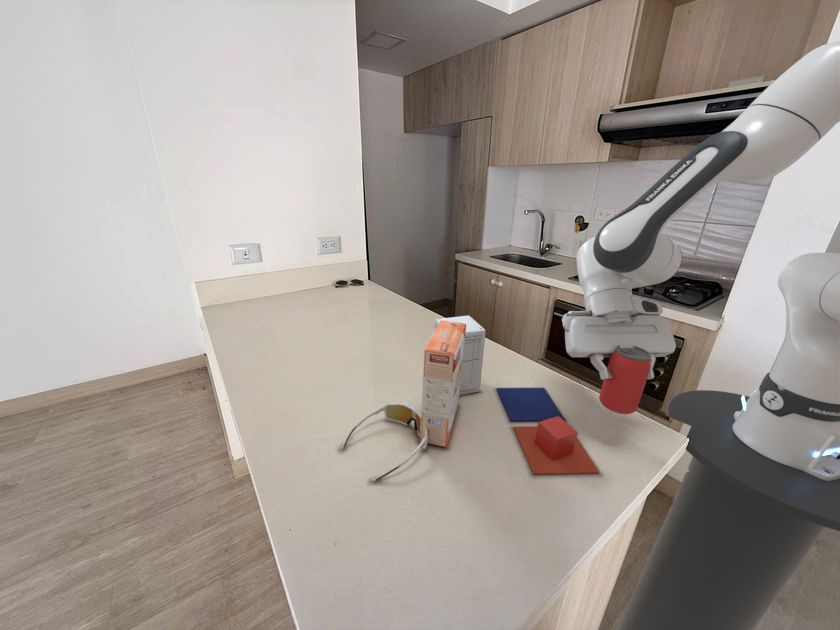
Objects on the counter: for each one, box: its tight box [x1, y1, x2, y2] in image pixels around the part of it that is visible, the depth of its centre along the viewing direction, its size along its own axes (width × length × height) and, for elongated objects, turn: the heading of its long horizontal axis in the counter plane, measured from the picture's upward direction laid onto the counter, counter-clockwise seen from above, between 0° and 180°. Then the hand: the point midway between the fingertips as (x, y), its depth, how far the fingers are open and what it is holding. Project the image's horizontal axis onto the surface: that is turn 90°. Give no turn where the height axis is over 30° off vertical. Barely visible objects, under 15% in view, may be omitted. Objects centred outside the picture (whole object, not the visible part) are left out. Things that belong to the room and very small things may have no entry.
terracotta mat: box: [513, 426, 600, 476], centre depth 66 cm, size 12×12×1 cm
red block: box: [535, 416, 579, 460], centre depth 65 cm, size 5×5×5 cm
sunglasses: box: [340, 401, 428, 482], centre depth 66 cm, size 14×15×5 cm
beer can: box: [598, 346, 651, 415], centre depth 65 cm, size 7×7×12 cm
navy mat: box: [496, 387, 566, 423], centre depth 79 cm, size 12×12×1 cm
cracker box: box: [419, 320, 466, 448], centre depth 68 cm, size 14×6×21 cm, turn 165°
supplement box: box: [433, 314, 487, 396], centre depth 82 cm, size 10×9×17 cm
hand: (627, 379), depth 64 cm, fingers closed on beer can, 6 cm apart
